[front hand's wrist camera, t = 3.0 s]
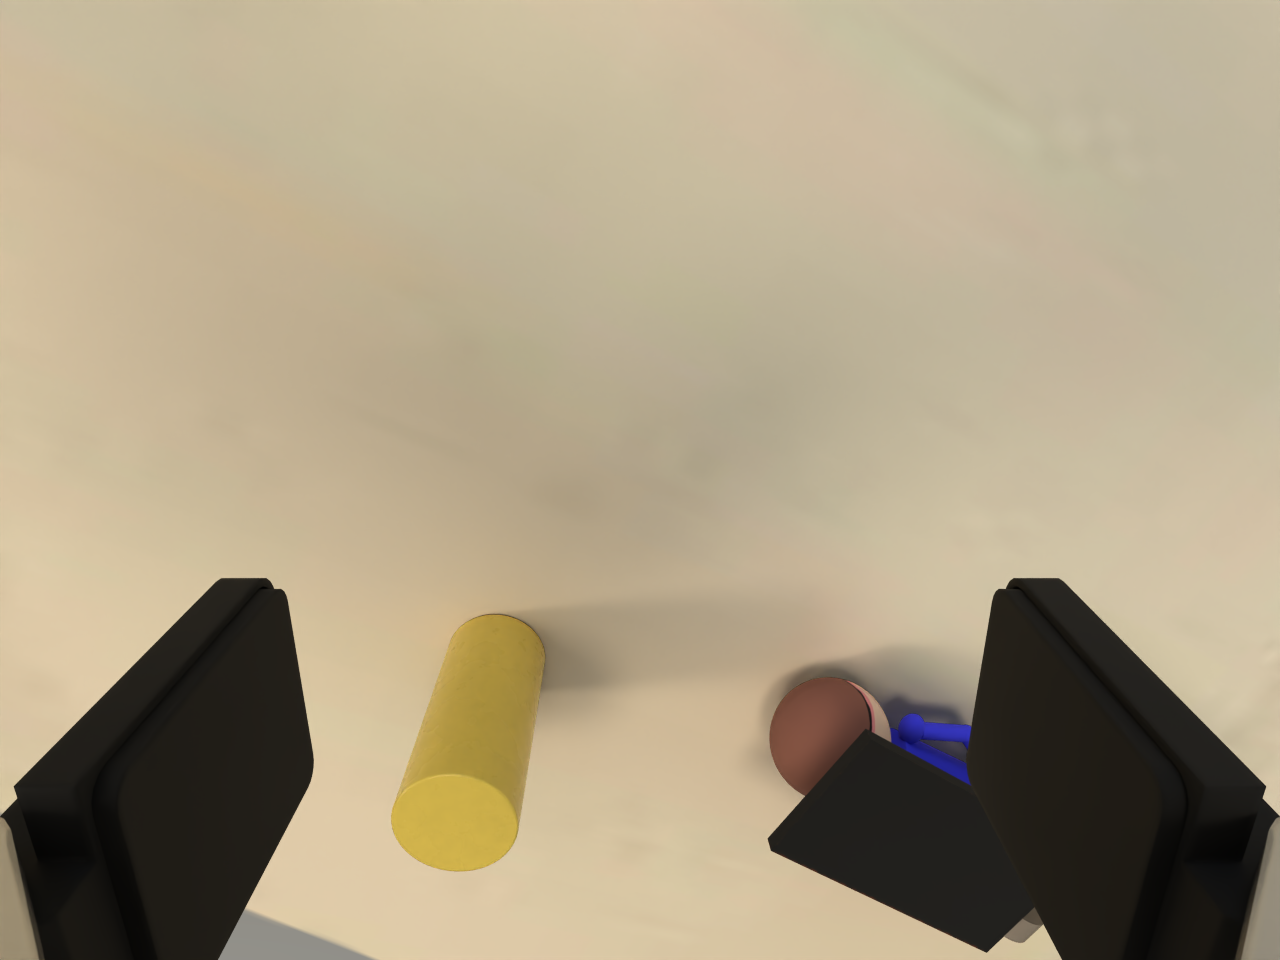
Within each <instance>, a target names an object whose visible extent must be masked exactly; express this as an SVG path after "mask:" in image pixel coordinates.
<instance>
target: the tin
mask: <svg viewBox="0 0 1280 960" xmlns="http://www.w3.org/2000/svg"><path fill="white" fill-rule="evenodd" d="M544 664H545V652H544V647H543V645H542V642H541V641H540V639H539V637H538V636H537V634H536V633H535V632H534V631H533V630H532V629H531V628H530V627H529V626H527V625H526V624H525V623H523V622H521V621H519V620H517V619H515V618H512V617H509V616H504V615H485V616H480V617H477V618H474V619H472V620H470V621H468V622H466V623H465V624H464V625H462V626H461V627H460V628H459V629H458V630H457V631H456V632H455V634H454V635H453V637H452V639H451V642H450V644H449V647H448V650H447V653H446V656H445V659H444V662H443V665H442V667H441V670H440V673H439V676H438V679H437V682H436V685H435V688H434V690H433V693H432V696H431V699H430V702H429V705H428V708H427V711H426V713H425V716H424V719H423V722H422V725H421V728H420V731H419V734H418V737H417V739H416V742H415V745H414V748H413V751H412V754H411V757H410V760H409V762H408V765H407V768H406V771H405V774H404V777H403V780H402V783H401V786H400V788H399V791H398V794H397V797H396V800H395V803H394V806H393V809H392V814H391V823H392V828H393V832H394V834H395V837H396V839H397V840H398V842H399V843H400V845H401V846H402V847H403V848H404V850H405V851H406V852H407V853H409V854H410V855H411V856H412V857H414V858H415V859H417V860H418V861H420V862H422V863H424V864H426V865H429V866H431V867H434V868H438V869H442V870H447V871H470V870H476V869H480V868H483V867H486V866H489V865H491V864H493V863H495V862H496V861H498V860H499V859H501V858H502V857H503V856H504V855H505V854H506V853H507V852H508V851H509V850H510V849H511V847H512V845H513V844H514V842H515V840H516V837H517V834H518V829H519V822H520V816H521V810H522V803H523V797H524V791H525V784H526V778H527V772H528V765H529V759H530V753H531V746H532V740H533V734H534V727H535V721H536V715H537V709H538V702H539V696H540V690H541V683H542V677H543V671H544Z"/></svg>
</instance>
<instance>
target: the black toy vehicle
mask: <svg viewBox="0 0 1280 960" xmlns="http://www.w3.org/2000/svg"><path fill="white" fill-rule="evenodd" d="M970 732H971V726H969V725H958V724H944V723H930V722H924V720H923V719H922V718H921V717H920V716H919V715H917V714H908V715H906V716H905V717H903V718H902V720H901V721H900V723H899V727H898V730H896V729H893V728H890V727H889V723H888V721H887V718H886V715H885V713H884V711H883V710H882V708H881V706H880V705H879V703H878V702H877V701H876V700H875V699H874V698H873V696H872V695H870V694H869V693H868V692H867V691H866V690H864V689H863V688H861V687H860V686H858V685H856V684H854V683H852V682H850V681H847V680H844V679H839V678H832V677H825V678H817V679H813V680H809V681H807V682H804V683H802V684H800V685H799V686H797V687H795V688H794V689H793V690H792V691H790V692H789V693H788V694H787V695H786V696H785V697H784V699H783V700H782V701H781V702H780V704H779V706H778V707H777V709H776V711H775V713H774V716H773V719H772V722H771V727H770V748H771V753H772V757H773V760H774V762H775V765H776V767H777V769H778V770H779V772H780V774H781V775H782V777H783V778H784V779H785V780H786V781H787V782H788V784H789V785H790V786H792V787H793V788H794V789H795V790H797V791H798V792H800V793H801V794H803V795H805V797H804V798H803V799H802V801H801V802H800V803H799V804H798V805H797V806H796V807H795V808H794V810H793V811H792V812H791V813H790V814H789V815H788V816H787V817H786V819H785V820H784V821H783V822H782V823H781V824H780V825H779V826H778V828H777V829H776V830H775V831H774V832H773V833H772V834H771V835H770V836H769V838H768V842H769V845H770V849H771V851H773V852H775V853H777V854H779V855H781V856H783V857H785V858H787V859H789V860H792V861H794V862H796V863H798V864H800V865H802V866H804V867H806V868H809V869H811V870H813V871H815V872H817V873H819V874H821V875H823V876H825V877H828V878H830V879H832V880H834V881H836V882H838V883H840V884H842V885H844V886H847V887H849V888H851V889H853V890H855V891H857V892H859V893H861V894H863V895H866V896H868V897H870V898H872V899H874V900H876V901H878V902H880V903H883V904H885V905H887V906H889V907H891V908H893V909H895V910H897V911H899V912H902V913H904V914H906V915H908V916H910V917H912V918H914V919H916V920H918V921H921V922H923V923H925V924H927V925H929V926H931V927H933V928H935V929H937V930H940V931H942V932H944V933H946V934H948V935H950V936H952V937H954V938H957V939H959V940H961V941H963V942H965V943H967V944H969V945H971V946H973V947H976V948H978V949H980V950H982V951H984V952H986V953H987V952H988V951H989V950H990V949H991V948H992V947H993V946H994V945H995V944H996V943H997V942H998V941H1000V940H1001V939H1002V938H1003V937H1006V938H1008V939H1010V940H1012V941H1014V942H1018V943H1023V942H1025V941H1026V940H1027V939H1028V938H1029V937H1030V936H1031V935H1032V934H1033V933H1034V932H1035V931H1037V930H1038V929H1039V928H1040V927H1041V926H1042V925H1043V922H1042V920H1041V918H1040V917H1039V915H1038V913H1037V911H1036V909H1035V907H1034V905H1033V903H1032V901H1031V899H1030V897H1029V895H1028V894H1027V892H1026V890H1025V888H1024V886H1023V884H1022V882H1021V880H1020V878H1019V876H1018V874H1017V873H1016V871H1015V869H1014V867H1013V865H1012V863H1011V861H1010V859H1009V857H1008V855H1007V853H1006V852H1005V850H1004V848H1003V846H1002V844H1001V842H1000V840H999V838H998V836H997V834H996V832H995V831H994V829H993V827H992V825H991V823H990V821H989V819H988V817H987V815H986V813H985V811H984V810H983V808H982V806H981V804H980V802H979V800H978V798H977V796H976V794H975V792H974V790H973V789H972V786H971V784H970V782H969V778H968V774H967V765H966V763H965V762H963V761H961V760H959V759H957V758H954V757H952V756H950V755H948V754H946V753H944V752H942V751H940V750H938V749H936V748H933V747H931V746H929V745H927V744H925V743H923V742H921V741H920V740H921V739H923V740H938V741H953V742H963V744H964V745H965V747H966V748H967V750H968V744H969V738H970Z"/></svg>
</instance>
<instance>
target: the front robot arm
mask: <svg viewBox="0 0 1280 960" xmlns="http://www.w3.org/2000/svg"><path fill="white" fill-rule="evenodd" d="M313 765H314V758H313V750H312V744H311V738H310V732H309V726H308V720H307V714H306V708H305V702H304V696H303V690H302V684H301V678H300V672H299V666H298V660H297V654H296V648H295V642H294V636H293V630H292V624H291V618H290V612H289V606H288V600H287V596H286V594H285V592H284V591H283V590H282V589H274V587H273V585H272V583H271V582H270V581H269V580H268V579H267V578H221V579H220V580H218V581H217V582H215V583H214V584H213V586H212V587H211V588H210V589H209V590H208V591H207V592H206V593H205V594H204V595H203V596H202V597H201V598H200V599H199V600H198V601H197V602H196V603H195V604H194V605H193V606H192V607H191V608H190V609H189V610H188V611H187V612H186V613H185V614H184V615H183V616H182V617H181V618H180V619H179V620H178V621H177V622H176V623H175V624H174V625H173V626H172V627H171V628H170V629H169V630H168V631H167V632H166V633H165V634H164V635H163V636H162V637H161V638H160V639H159V640H158V641H157V642H156V643H155V644H154V645H153V646H152V647H151V648H150V649H149V650H148V651H147V652H146V653H145V654H144V655H143V656H142V657H141V658H140V659H139V660H138V661H137V662H136V663H135V664H134V665H133V666H132V667H131V668H130V669H129V670H128V671H127V672H126V673H125V674H124V675H123V676H122V677H121V678H120V680H119V681H118V682H117V683H116V684H115V685H114V686H113V687H112V688H111V689H110V690H109V691H108V692H107V693H106V694H105V695H104V696H103V697H102V698H101V699H100V700H99V701H98V702H97V703H96V704H95V705H94V706H93V707H92V708H91V709H90V710H89V711H88V712H87V713H86V714H85V715H84V716H83V717H82V718H81V719H80V720H79V721H78V722H77V723H76V724H75V725H74V726H73V727H72V728H71V729H70V730H69V731H68V732H67V733H66V734H65V735H64V736H63V737H62V738H61V739H60V740H59V741H58V742H57V743H56V744H55V745H54V746H53V747H52V748H51V749H50V750H49V751H48V752H47V753H46V754H45V755H44V756H43V757H42V758H41V759H40V760H39V761H38V762H37V763H36V764H35V765H34V766H33V767H32V768H31V769H30V770H29V771H28V773H27V774H26V775H25V776H24V777H23V778H22V779H21V780H20V781H19V782H18V783H17V784H16V785H15V786H14V789H15V792H16V795H17V799H16V801H15V802H14V803H13V804H12V805H11V806H10V807H9V808H8V809H7V810H6V811H5V812H4V813H3V814H2V815H1V816H0V960H218V958H219V957H220V955H221V953H222V951H223V949H224V947H225V945H226V943H227V941H228V939H229V938H230V936H231V934H232V932H233V930H234V928H235V926H236V924H237V922H238V920H239V918H240V916H241V915H242V913H243V911H244V909H245V907H246V905H247V903H248V901H249V899H250V897H251V895H252V894H253V892H254V890H255V888H256V886H257V884H258V882H259V880H260V878H261V876H262V874H263V873H264V871H265V869H266V867H267V865H268V863H269V861H270V859H271V857H272V855H273V853H274V852H275V850H276V848H277V846H278V844H279V842H280V840H281V838H282V836H283V834H284V832H285V831H286V829H287V827H288V825H289V823H290V821H291V819H292V817H293V815H294V813H295V811H296V810H297V808H298V806H299V804H300V802H301V800H302V798H303V796H304V794H305V792H306V790H307V789H308V786H309V784H310V782H311V778H312V774H313ZM966 765H967V774H968V778H969V782H970V784H971V786H972V789H973V790H974V792H975V794H976V796H977V798H978V800H979V802H980V804H981V806H982V808H983V810H984V811H985V813H986V815H987V817H988V819H989V821H990V823H991V825H992V827H993V829H994V831H995V832H996V834H997V836H998V838H999V840H1000V842H1001V844H1002V846H1003V848H1004V850H1005V852H1006V853H1007V855H1008V857H1009V859H1010V861H1011V863H1012V865H1013V867H1014V869H1015V871H1016V873H1017V874H1018V876H1019V878H1020V880H1021V882H1022V884H1023V886H1024V888H1025V890H1026V892H1027V894H1028V895H1029V897H1030V899H1031V901H1032V903H1033V905H1034V907H1035V909H1036V911H1037V913H1038V915H1039V917H1040V918H1041V920H1042V922H1043V924H1044V926H1045V928H1046V930H1047V932H1048V934H1049V936H1050V938H1051V939H1052V941H1053V943H1054V945H1055V947H1056V949H1057V951H1058V953H1059V955H1060V957H1061V959H1062V960H1280V816H1279V815H1278V814H1277V813H1276V812H1275V811H1274V810H1273V809H1272V808H1271V807H1270V806H1269V805H1268V804H1267V803H1266V802H1265V801H1264V799H1263V795H1264V792H1265V789H1266V786H1265V785H1264V784H1263V783H1262V782H1261V781H1260V780H1259V779H1258V778H1257V777H1256V776H1255V775H1254V774H1253V773H1252V771H1251V770H1250V769H1249V768H1248V767H1247V766H1246V765H1245V764H1244V763H1243V762H1242V761H1241V760H1240V759H1239V758H1238V757H1237V756H1236V755H1235V754H1234V753H1233V752H1232V751H1231V750H1230V749H1229V748H1228V747H1227V746H1226V745H1225V744H1224V743H1223V742H1222V741H1221V740H1220V739H1219V738H1218V737H1217V736H1216V735H1215V734H1214V733H1213V732H1212V731H1211V730H1210V729H1209V728H1208V727H1207V726H1206V725H1205V724H1204V723H1203V722H1202V721H1201V720H1200V719H1199V718H1198V717H1197V716H1196V715H1195V714H1194V713H1193V712H1192V711H1191V710H1190V709H1189V708H1188V707H1187V706H1186V705H1185V704H1184V703H1183V702H1182V701H1181V700H1180V699H1179V698H1178V697H1177V696H1176V695H1175V694H1174V693H1173V692H1172V691H1171V690H1170V689H1169V688H1168V687H1167V686H1166V685H1165V684H1164V683H1163V682H1162V681H1161V680H1160V678H1159V677H1158V676H1157V675H1156V674H1155V673H1154V672H1153V671H1152V670H1151V669H1150V668H1149V667H1148V666H1147V665H1146V664H1145V663H1144V662H1143V661H1142V660H1141V659H1140V658H1139V657H1138V656H1137V655H1136V654H1135V653H1134V652H1133V651H1132V650H1131V649H1130V648H1129V647H1128V646H1127V645H1126V644H1125V643H1124V642H1123V641H1122V640H1121V639H1120V638H1119V637H1118V636H1117V635H1116V634H1115V633H1114V632H1113V631H1112V630H1111V629H1110V628H1109V627H1108V626H1107V625H1106V624H1105V623H1104V622H1103V621H1102V620H1101V619H1100V618H1099V617H1098V616H1097V615H1096V614H1095V613H1094V612H1093V611H1092V610H1091V609H1090V608H1089V607H1088V606H1087V605H1086V604H1085V603H1084V602H1083V601H1082V600H1081V599H1080V598H1079V597H1078V596H1077V595H1076V594H1075V593H1074V592H1073V591H1072V590H1071V589H1070V588H1069V587H1068V586H1067V584H1066V583H1065V582H1063V581H1062V580H1060V579H1059V578H1013V579H1012V580H1011V581H1010V582H1009V583H1008V585H1007V587H1006V589H998V590H997V591H996V592H995V594H994V596H993V600H992V606H991V612H990V618H989V624H988V630H987V636H986V642H985V648H984V654H983V660H982V666H981V672H980V678H979V684H978V690H977V696H976V702H975V708H974V714H973V720H972V726H971V732H970V738H969V744H968V750H967V758H966Z"/></svg>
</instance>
